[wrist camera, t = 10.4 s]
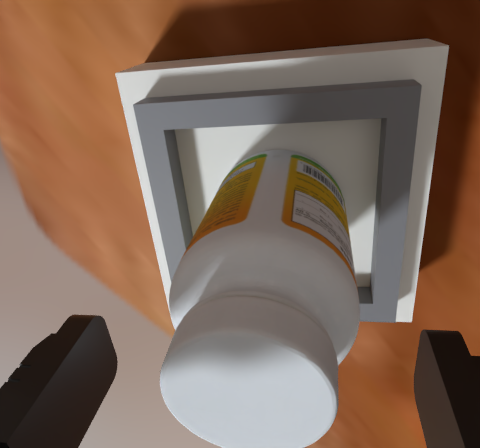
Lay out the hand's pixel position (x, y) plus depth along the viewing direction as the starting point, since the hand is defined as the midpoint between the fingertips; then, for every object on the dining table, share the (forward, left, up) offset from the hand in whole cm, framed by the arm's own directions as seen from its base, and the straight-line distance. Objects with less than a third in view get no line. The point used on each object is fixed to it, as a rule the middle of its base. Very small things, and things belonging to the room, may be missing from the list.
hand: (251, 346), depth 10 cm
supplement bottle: (0, 0, -8) cm, 8 cm away
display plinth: (0, 0, -11) cm, 11 cm away
